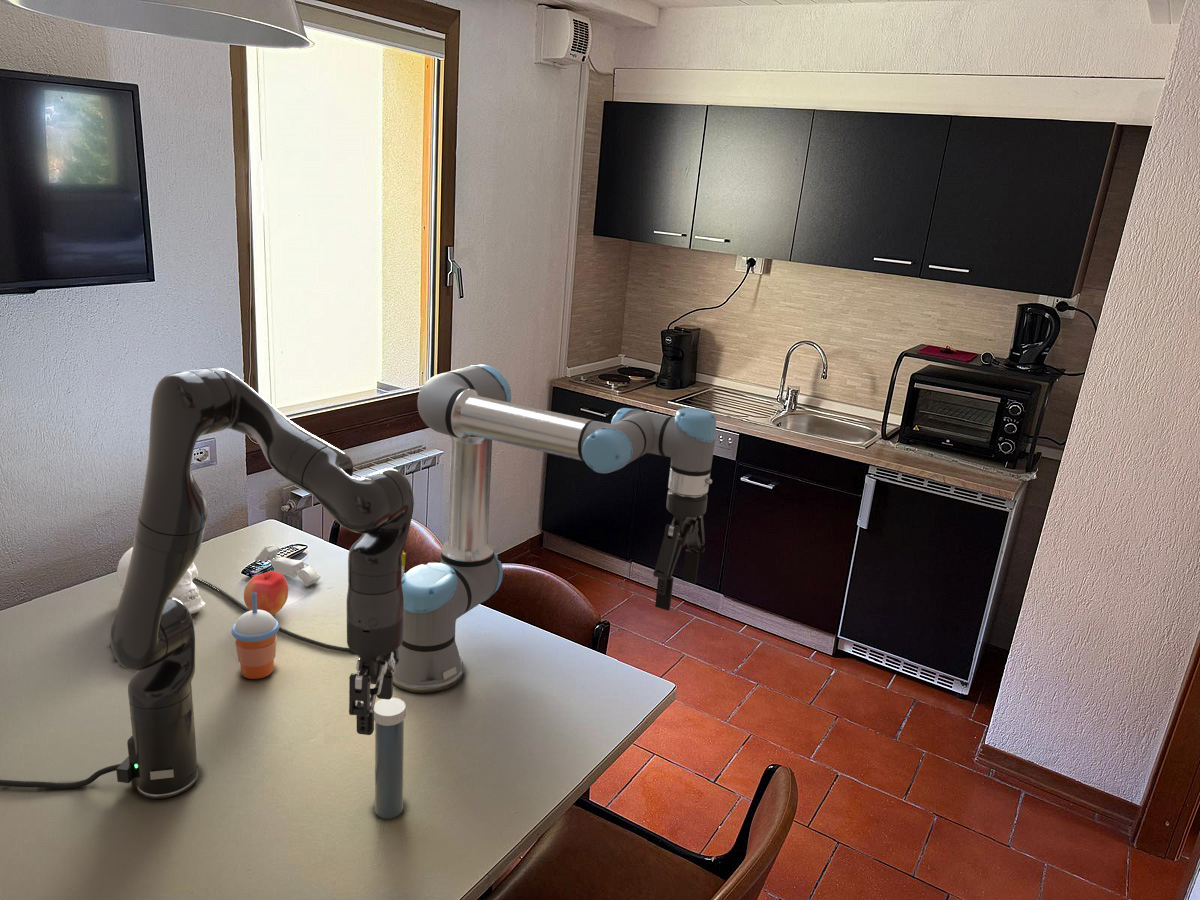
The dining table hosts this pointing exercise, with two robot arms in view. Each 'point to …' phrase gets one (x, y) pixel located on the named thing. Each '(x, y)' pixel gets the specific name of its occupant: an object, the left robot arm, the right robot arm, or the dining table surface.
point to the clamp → (288, 565)
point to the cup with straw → (256, 641)
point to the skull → (181, 588)
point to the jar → (389, 769)
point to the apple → (267, 592)
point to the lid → (389, 711)
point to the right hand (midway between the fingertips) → (676, 594)
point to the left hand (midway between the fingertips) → (375, 714)
